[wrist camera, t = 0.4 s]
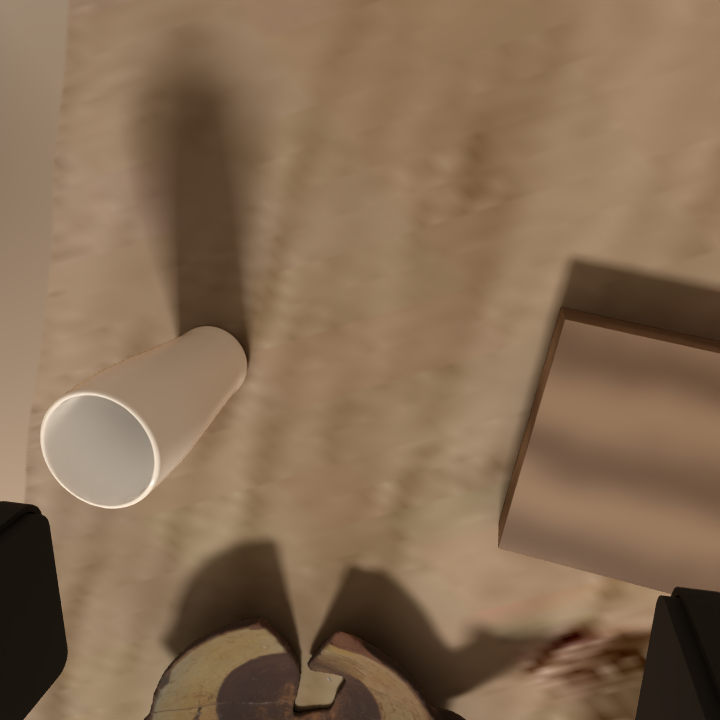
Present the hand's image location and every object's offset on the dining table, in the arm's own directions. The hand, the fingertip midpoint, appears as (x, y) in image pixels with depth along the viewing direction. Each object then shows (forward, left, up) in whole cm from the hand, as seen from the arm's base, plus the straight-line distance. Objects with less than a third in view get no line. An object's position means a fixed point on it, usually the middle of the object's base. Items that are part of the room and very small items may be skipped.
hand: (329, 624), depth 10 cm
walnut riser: (+10, +15, -35) cm, 39 cm away
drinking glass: (+11, -15, -35) cm, 40 cm away
